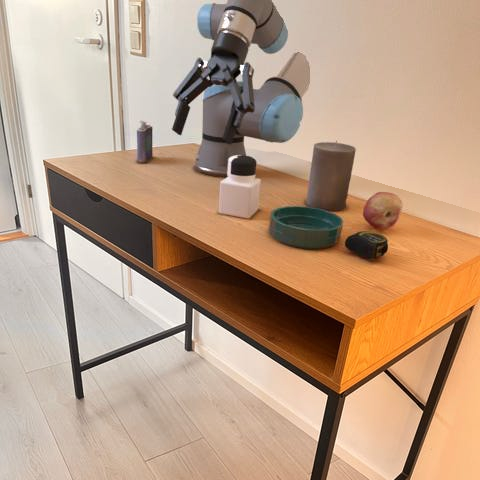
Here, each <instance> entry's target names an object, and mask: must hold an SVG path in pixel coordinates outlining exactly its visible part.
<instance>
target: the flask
mask: <svg viewBox="0 0 480 480" xmlns="http://www.w3.org/2000/svg"><path fill="white" fill-rule="evenodd" d="M147 123H148V122H146V121H145V120H140V121H139V124H140V127H138V128H137V130H136V147H137V148H136V149H137V154H136V155H137V163H138V164H146V163H147V162H149V161H150V160H152V159H153V157H154V156H153V155H154V153H153V125H151V124H147Z"/></svg>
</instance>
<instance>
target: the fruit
mask: <svg viewBox="0 0 480 480" xmlns="http://www.w3.org/2000/svg"><path fill="white" fill-rule="evenodd" d="M403 206H404V205H403V201H402V198H401V197H399V196H398V195H397V194H395V193H393V192H389V191H388V192H387V191H378V192H376V193H374V194H373V195H371V196H370V197H369V198H368V199H367V201H366V203H365V205H364V207H363V211H362V217H363V218H364V220H365V221H366V222H367V224H369V226H370V227H372V228H373V229H375V230H379V231H384V230H387V229H390V228H392V227H393V226H395V225H396V224H397V222H398V221H399V219H400V217H401V214H402V210H403Z"/></svg>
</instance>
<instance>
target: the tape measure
mask: <svg viewBox="0 0 480 480" xmlns="http://www.w3.org/2000/svg"><path fill="white" fill-rule="evenodd" d="M388 243H389V241H388V238H387V237H386V236H385V235H383V234H381V233H378V232H375V231H369V230H368V231H367V230H361V231H356V232H354V233H353V234H350V235H348V236H347V237H346V238H345V241H344V247H345V248H346V249H347V250H349V251H350V252H353V254H356V255H358V256H359V257H361V258H362V257H363V258H364V259H367V260H369V261H372V260H375V259H379V258H380V259H381V258H382V257H384V256H385V254H386V253H388V250H389V244H388Z"/></svg>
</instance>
